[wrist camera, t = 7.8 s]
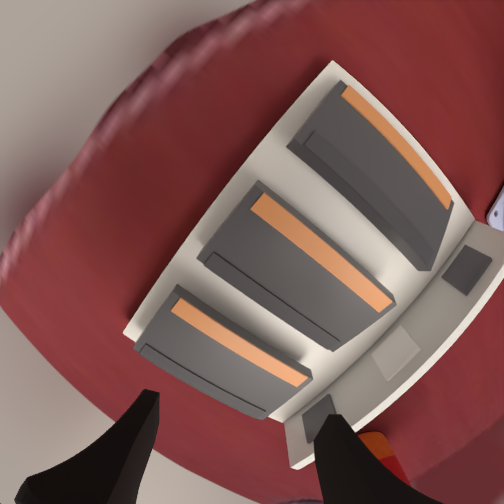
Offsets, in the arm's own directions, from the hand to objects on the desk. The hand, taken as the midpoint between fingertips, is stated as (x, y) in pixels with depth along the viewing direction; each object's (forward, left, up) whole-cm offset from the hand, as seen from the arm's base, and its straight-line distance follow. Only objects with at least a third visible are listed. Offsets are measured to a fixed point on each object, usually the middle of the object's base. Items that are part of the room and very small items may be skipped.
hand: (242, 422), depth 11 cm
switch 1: (-12, 0, -6) cm, 14 cm away
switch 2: (-5, 0, -6) cm, 8 cm away
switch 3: (+2, 0, -6) cm, 6 cm away
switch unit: (-5, +1, -9) cm, 10 cm away
